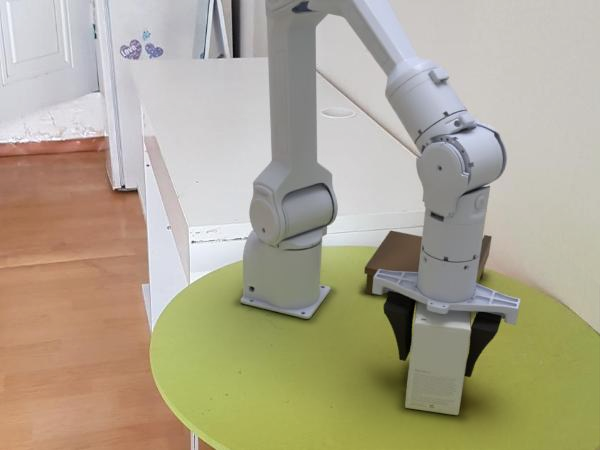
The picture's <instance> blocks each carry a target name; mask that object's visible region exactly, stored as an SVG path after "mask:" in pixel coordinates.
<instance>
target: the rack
mask: <svg viewBox="0 0 600 450" xmlns="http://www.w3.org/2000/svg"><path fill="white" fill-rule="evenodd" d="M384 237H385V238H384V239H383V240H382V242H381V243H380V244H379V246H378V247H377V249H376V250H375V252H374V253H373V255H372V256H371V257H370V259H369V260H368V262H367V263H366V264H365V266H364V271H363V274H365V275H366V285H365V294H368V295H374V293H372V289H373V277H374V276H375V274H376V273H377V271H378V269H382V270H388V271H402V272H418V270H419V261H420V252H421V243H422V235H415V234H412V233H406V232H401V231H396V230H389V231H388V233H387V234H386V236H384ZM492 239H493V238H492V235H487V234H483V239H482V246H481V252H480V259H479V266H478V272H477V279H476V283H477V284H479V282H480V279H483V278H484V275H485V274H484V272H485V266H486V264H487V262H488V259H489V256H490V250H491V245H492Z"/></svg>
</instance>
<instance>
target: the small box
mask: <svg viewBox="0 0 600 450" xmlns="http://www.w3.org/2000/svg"><path fill="white" fill-rule="evenodd" d="M413 321H414V322H413V326H412V343H411V349H410V353H409V354H410V355H409V363H408V371H407V373H408V374H407V382H406V390H405V402H404V407H405V408H406V409H413V410H420V411H425V412H433V413H438V414H439V413H440V414H446V415H453V416H458V415H459V414H460V407H461V401H462V394H463V388H464V381H465V376H464V375H465V368H466V361H467V357H468V353H469V345H470V335H471V326H472V312H470V311H455V310H449V311H448V313H446V314H440V313H436V312H431V311H428V310H427V305H426V304H424V303H421V302H419V301H417V300H416V304H415V310H414V319H413Z"/></svg>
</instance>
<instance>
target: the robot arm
mask: <svg viewBox="0 0 600 450" xmlns="http://www.w3.org/2000/svg"><path fill="white" fill-rule="evenodd" d="M264 2H265V3H264V4H265V5H264V6H265V16H266V30H267V31H266V35H267V36H266V37H267V38H266V39H267V63H268V65H267V67H268V90H269V91H268V93H269V95H268V97H269V119H270V120H269V122H270V147H271V149H270V150H271V152H270V153H271V161H270V162H269V163H268V165H267V166H265V168H264V169H263V170H262V171H261V172H260V173H259V174H258V176H257V177H256V178H255V179H254V180H253V181H252V189H253V191H252V199H251V201H250V204H249V211H248V213H249V222H250V225H251V228H252V230H251V232H249V234H248V236H247V237H246V241H245V242H244V243H245V244H244V248H243V255H242V297H241V298H240V303H241V304H243V305H248V306H252V307H256V308H260V309H264V310H268V311H273V312H276V313H277V312H278V313H281V314H284V315H289V316H293V317H296V318H301V319H305V320H308V319H311V318H312V316H313V315H314V313H315V312H316V311H317V310H318V308H319V307H320V305H321V304H322V303H323V301H325V299H326V297H327V296H328V294H329V293H330V292H331V287H330V286H328V285H324V284H321V276H322V275H321V273H322V250H323V237H325V236H326V235H327V234H328V227H329V226H330V225H332V224H333V223H335V221H336V218H337V216H338V211H339V210H338V208H339V207H338V206H339V205H338V199H337V196H336V193H335V190H334V185H333V173H332V171H330V170H329V169H327V168H326V167H325V166H324V165H322V164H321V163H319V162H318V116H317V115H318V114H317V113H318V112H317V109H318V108H317V107H318V106H317V105H318V104H317V33H316V31H317V27H318V25H319V24H320V23H321V22H322V21H323V20H325V18H326V17H327V16H328V15H333V16H337V17H342V18H343V19H345V21H346V22H347V24H348V25H349V26H350V28H351V29H352V30H353V32H354V33H355V35H356V36H357V37H358V39H359V40H360V42H361V43H362V45H364V47H365V48H366V49H367V51H368V53H369V54H370V55H371V57H372V58H373V59H374V61H375V62H376V63H377V65H378V66H379V67H380V69H381V71H382V72H383V73H384V74H385V76H386V78H387V79H386V85H385V90H384V97H385V98H386V100H387V102H388V104H389V105H390V107H391V109H392V110H393V111H394V113H395V115H396V116H397V118H398V119H399V121H400V123H401V124H402V126H403V128H404V130H405V131H406V132H407V134H408V136H409V137H410V139H411V141H412V142H413V144H414V146H415V147H416V149H417V151H418V152H419V154H420V156H419V157H416V161H415V164H416V165H415V167H416V172H417V176H418V179H419V181H420V183H421V185H422V202H423V203H424V216H423V225H422V235H421V236H422V243H421V252H420V261H419V270H418V272H402V271H388V270H382V269H378V271H377V273H376V274H375V276H374V277H373V289H372V293H373V295H374V294H375V295H379V296H382V295H383V294H384V293H385V294H386V298H385V301H384V303H383V314H384V315H385V317H386V319H387V320H388V322H389V324H390V326H391V329H392V332H393V334H394V338H395V342H396V344H397V345H396V346H397V350H398V351H397V352H398V358H399V361H403V362H406V361H407V359H408V358H409V357H408V356H410V355H409V354H410V353H411V344H412V336H413V325H414V322H413V321H414V317H415V311H416V302H417V301H419V302H421V303H424V304H426V305H427V310H428V311H431V312H436V313H440V314H446V313H448V311H449V310H455V311H470V312H471V313H475V316H474V319H473V321H472V322H471V335H470V341H469V348H468V354H467V361H466V368H465V375H464V377H466V378H471V377H472V374H473V372H474V370H475V369H474V368H475V365H476V363H477V361H478V359H479V357H480V356H481V354H482V353H483V351H484V350H485V348H486V347H487V346H488V345H489V343H491V341H493V340H494V338H495V337H496V336H497V334H498V331H499V330H500V329H499V328H500V325H501V321H502V320H503V321H504V323H505V324H508V325H513V326H515V325H516V324H517V321H518V316H519V311H520V306H521V301H522V299H521V298H518V297H514V296H510V295H507V294H504V293H501V292H500V291H496V290H494V289H491V288H489V287H487V286H484V285H482V284H479V283H478V284H477V283H476V279H477V272H478V266H479V259H480V252H481V246H482V239H483V237H484V232H485V224H486V219H487V212H488V204H489V198H490V192H491V191H490V190H491V185H490V184H492V183H493V182H495V181H497V180H498V179H499V178H500V177H502V175H503V174H504V172H505V170H506V167H507V164H508V163H507V162H508V156H507V155H508V154H507V149H506V145H505V143H504V141H503V139H502V137H501V133H500V132H499V131H498V130H497V129H496V128H495V127H494V126H492V125H489V124H488V123H484V122H481V121H480V120H479V119H478V118H477V116H476V115H475V116H473V114H471V112H469V111H468V109H467V107H466V105H464V103H463V101H462V100H461V99H460V96H459V95H458V93H457V92H456V91H455V88H454V87H453V86H452V84H451V83H450V82H449V79H450V75H449V74H448V72H447V71H446V69H445V68H444V67H443V66H439V64H438V62H436V61H435V60H432V59H431V60H430V59H426V58H421V57H419V56H418V54H417V52H416V50H415V48H414V46H413V45H412V42H411V41H410V39H409V37H408V35H407V33H406V31H405V29H404V27H403V26H402V24H401V22H400V21H399V18H398V16H397V15H396V12H395V11H394V9H393V7H392V6H391V3H390V2H389V0H264Z"/></svg>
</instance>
